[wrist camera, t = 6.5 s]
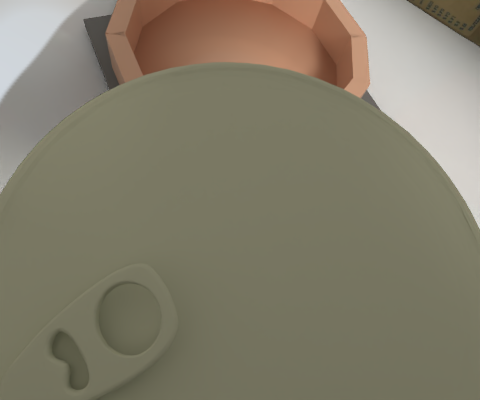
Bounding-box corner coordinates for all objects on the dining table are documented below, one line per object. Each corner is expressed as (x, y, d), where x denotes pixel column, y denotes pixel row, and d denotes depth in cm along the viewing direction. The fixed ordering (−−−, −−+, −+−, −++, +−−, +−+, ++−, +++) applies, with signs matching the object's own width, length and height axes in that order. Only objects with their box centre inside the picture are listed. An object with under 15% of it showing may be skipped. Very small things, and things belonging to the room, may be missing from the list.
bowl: (285, -18, 29) (296, -58, 26) (389, 133, 24) (416, 103, 21) (89, 12, 25) (78, -32, 22) (166, 207, 20) (164, 180, 17)
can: (69, 297, 17) (-139, 144, 6) (242, 205, 20) (311, -5, 9) (169, 513, 14) (122, 976, 3) (351, 365, 17) (642, 341, 6)
